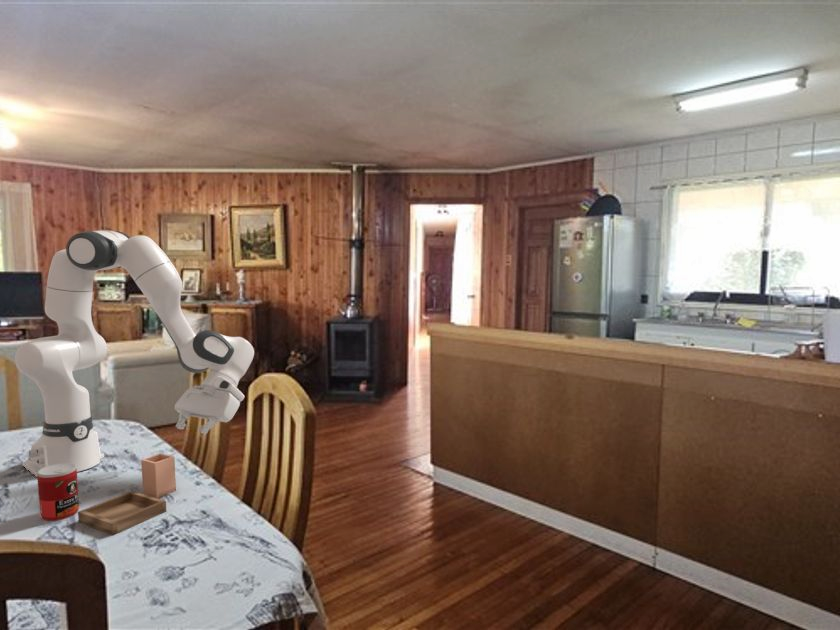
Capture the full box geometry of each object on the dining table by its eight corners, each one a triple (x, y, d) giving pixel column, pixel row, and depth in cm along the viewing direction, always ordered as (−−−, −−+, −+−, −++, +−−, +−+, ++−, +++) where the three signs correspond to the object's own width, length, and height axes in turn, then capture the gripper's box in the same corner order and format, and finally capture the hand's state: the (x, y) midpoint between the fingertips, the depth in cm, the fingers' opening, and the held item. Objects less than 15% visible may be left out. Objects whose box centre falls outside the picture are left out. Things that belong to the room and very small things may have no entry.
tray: (78, 522, 123) (77, 511, 123) (132, 500, 134) (131, 490, 134) (113, 535, 117) (112, 524, 117) (166, 511, 128) (165, 501, 128)
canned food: (60, 522, 123) (57, 476, 122) (31, 519, 125) (28, 473, 124) (87, 508, 130) (84, 463, 129) (59, 505, 132) (56, 461, 131)
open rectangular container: (143, 494, 138) (141, 459, 137) (162, 486, 143) (160, 453, 142) (157, 498, 136) (155, 463, 135) (176, 490, 140) (174, 456, 140)
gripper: (186, 378, 157) (157, 419, 150) (236, 385, 148) (208, 429, 140) (199, 390, 162) (172, 431, 154) (249, 397, 152) (223, 441, 144)
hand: (190, 430), depth 147 cm, fingers open, 8 cm apart
